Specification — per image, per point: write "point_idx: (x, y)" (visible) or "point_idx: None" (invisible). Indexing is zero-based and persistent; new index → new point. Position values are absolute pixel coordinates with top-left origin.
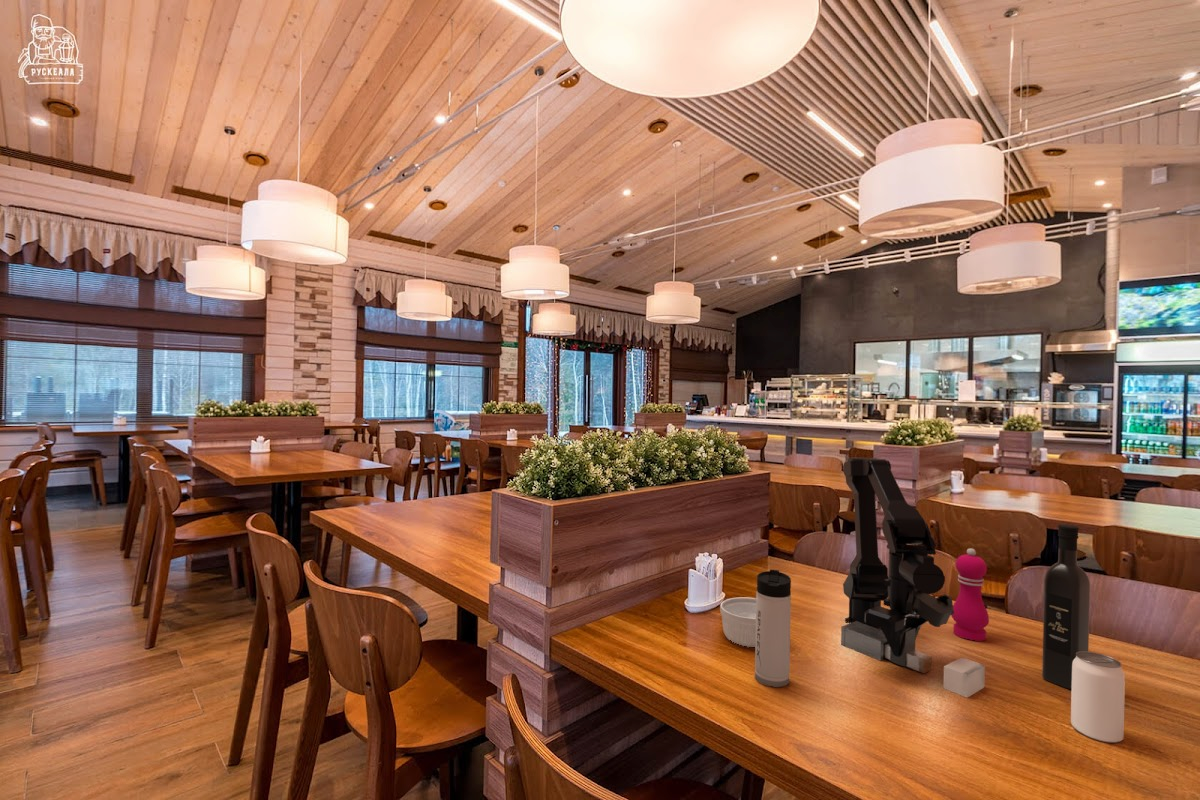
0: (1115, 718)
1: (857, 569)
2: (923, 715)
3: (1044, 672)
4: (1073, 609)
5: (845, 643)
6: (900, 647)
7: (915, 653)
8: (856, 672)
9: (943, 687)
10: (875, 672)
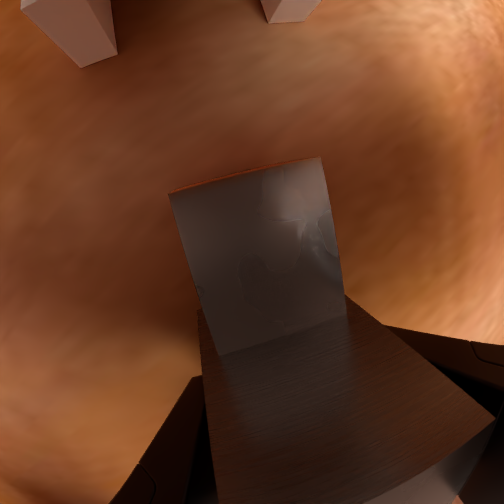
0: None
1: None
2: (489, 11)
3: None
4: None
5: None
6: (414, 339)
7: (275, 292)
8: (493, 291)
9: (305, 19)
10: (456, 275)
